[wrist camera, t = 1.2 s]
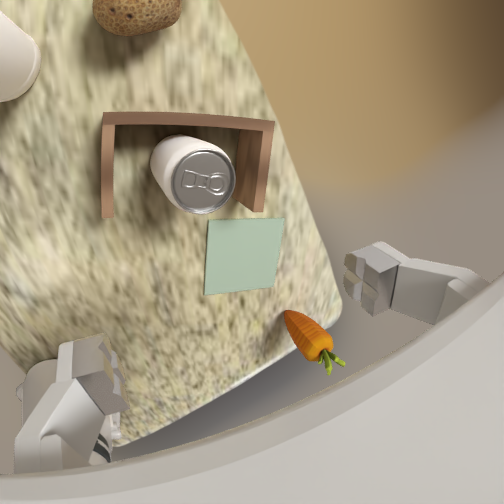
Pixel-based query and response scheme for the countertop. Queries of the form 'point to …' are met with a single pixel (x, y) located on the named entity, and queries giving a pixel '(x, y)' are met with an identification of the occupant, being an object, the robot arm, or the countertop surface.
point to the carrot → (311, 339)
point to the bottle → (16, 60)
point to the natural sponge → (136, 15)
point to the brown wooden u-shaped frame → (250, 136)
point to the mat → (242, 254)
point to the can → (193, 173)
